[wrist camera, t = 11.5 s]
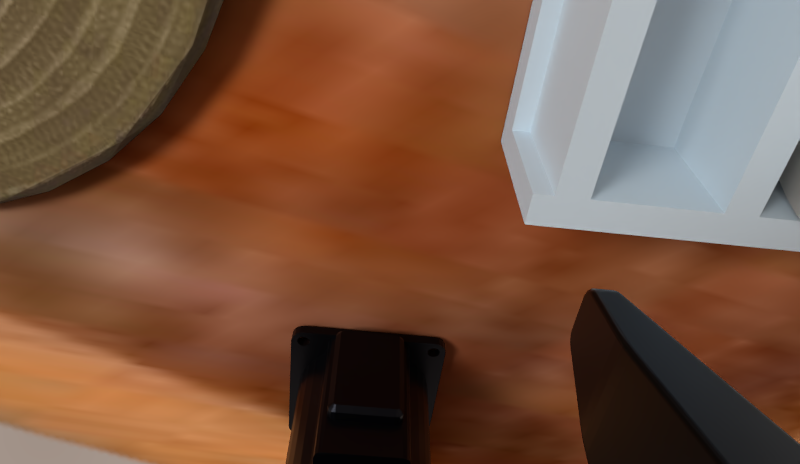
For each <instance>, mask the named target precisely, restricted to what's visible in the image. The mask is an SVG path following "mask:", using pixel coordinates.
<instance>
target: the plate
mask: <svg viewBox="0 0 800 464" xmlns="http://www.w3.org/2000/svg"><path fill="white" fill-rule="evenodd" d="M779 181H780V183H781V186H782V188H783V190H784V193H785V195H786V197H787V199H788V201H789V203H790V205H791V206H792V208H793V210H794V212H795V213H796V215H797V216H798V217H799V218H800V140H799V142H798V144H797V145H796V147H795V149H794V151H793V153H792V155H791V157H790V159H789V161H788V163H787V165H786V167H785V169H784V171H783V173H782V174H781V176H780V178H779Z"/></svg>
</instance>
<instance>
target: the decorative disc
mask: <svg viewBox="0 0 800 464" xmlns="http://www.w3.org/2000/svg"><path fill="white" fill-rule="evenodd" d="M222 3H223V0H0V203H4V202H8V201H12V200H16V199H20V198H24V197H28V196H32V195H36V194H40V193H44V192H48V191H51V190H53V189H55V188H56V187H58V186H60V185H62V184H64V183H66V182H68V181H70V180H72V179H74V178H76V177H78V176H80V175H82V174H84V173H86V172H88V171H89V170H91V169H93V168H95V167H97V166H99V165H101V164H103V163H105V162H107V161H109V160H110V159H111V158H112V157H113V156H115V155H116V154H117V153H118V152H119V151H120V150H121V149H122V148H124V147H125V146H126V145H127V144H128V143H129V142H130V141H132V140H133V139H134V138H135V137H136V136H137V135H138V134H139V133H141V132H142V131H143V130H144V129H145V128H146V127H147V126H148V125H150V124H151V123H152V122H153V121H154V120H155V119H156V118H157V117H159V116H160V115H161V114H162V112H163V111H164V109H165V108H166V106H167V105H168V103H169V102H170V101H171V99H172V98H173V96H174V95H175V93H176V92H177V90H178V89H179V87H180V86H181V84H182V83H183V81H184V80H185V78H186V77H187V75H188V74H189V72H190V71H191V69H192V68H193V66H194V65H195V63H196V62H197V60H198V59H199V57H200V56H201V55H202V53H203V52H204V50H205V48H206V45H207V43H208V40H209V37H210V35H211V32H212V29H213V27H214V24H215V21H216V19H217V16H218V13H219V11H220V8H221V5H222Z"/></svg>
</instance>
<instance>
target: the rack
mask: <svg viewBox="0 0 800 464" xmlns="http://www.w3.org/2000/svg"><path fill="white" fill-rule="evenodd" d="M799 140H800V0H533V2H532V7H531V11H530V15H529V20H528V24H527V29H526V33H525V38H524V42H523V46H522V51H521V55H520V60H519V64H518V68H517V73H516V77H515V82H514V86H513V90H512V95H511V99H510V104H509V108H508V112H507V117H506V121H505V126H504V130H503V134H502V139H501V143H502V147H503V150H504V154H505V157H506V161H507V164H508V168H509V171H510V175H511V178H512V182H513V185H514V189H515V192H516V196H517V199H518V203H519V206H520V210H521V213H522V217H523V220H524V223H525V224H527V225H537V226H547V227H557V228H567V229H577V230H587V231H597V232H607V233H617V234H627V235H637V236H647V237H657V238H667V239H677V240H687V241H697V242H707V243H717V244H727V245H737V246H747V247H757V248H767V249H777V250H787V251H797V252H800V218H799V217H798V216H797V215H796V213H795V212H794V210H793V208H792V206H791V205H790V203H789V201H788V199H787V197H786V195H785V193H784V190H783V188H782V186H781V183H780V181H779V178H780V176H781V174H782V173H783V171H784V169H785V167H786V165H787V163H788V161H789V159H790V157H791V155H792V153H793V151H794V149H795V147H796V145H797V144H798V142H799Z"/></svg>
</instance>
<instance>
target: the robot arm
mask: <svg viewBox="0 0 800 464" xmlns="http://www.w3.org/2000/svg"><path fill="white" fill-rule="evenodd" d="M300 337H306V338H308V339H302V338H300ZM570 345H571V354H572V362H573V370H574V377H575V385H576V393H577V401H578V409H579V417H580V425H581V431H582V438H583V443H584V447H585V452H586V456H587V460H588V464H800V444H799V443H798V442H797V441H795V440H794V439H793V438H792V437H791V436H789V435H788V434H787V433H786V432H785V431H783V430H782V429H781V428H780V427H779V426H777V425H776V424H775V423H774V422H773V421H772V420H770V419H769V418H768V417H767V416H766V415H764V414H763V413H762V412H761V411H760V410H758V409H757V408H756V407H755V406H754V405H752V404H751V403H750V402H749V401H748V400H747V399H745V398H744V397H743V396H742V395H741V394H739V393H738V392H737V391H736V390H735V389H733V388H732V387H731V386H730V385H729V384H727V383H726V382H725V381H724V380H723V379H722V378H720V377H719V376H718V375H717V374H716V373H714V372H713V371H712V370H711V369H710V368H708V367H707V366H706V365H705V364H704V363H703V362H701V361H700V360H699V359H698V358H697V357H695V356H694V355H693V354H692V353H691V352H689V351H688V350H687V349H686V348H685V347H683V346H682V345H681V344H680V343H679V342H678V341H676V340H675V339H674V338H673V337H672V336H670V335H669V334H668V333H667V332H666V331H664V330H663V329H662V328H661V327H660V326H658V325H657V324H656V323H655V322H654V321H653V320H651V319H650V318H649V317H648V316H647V315H645V314H644V313H643V312H642V311H641V310H639V309H638V308H637V307H636V306H635V305H633V304H632V303H631V302H630V301H629V300H628V299H626V298H625V297H624V296H623V295H622V294H620V293H619V292H617V291H614V290H603V289H590V290H588V291H587V293H586V294H585V296H584V298H583V301H582V303H581V306H580V309H579V312H578V314H577V317H576V320H575V323H574V326H573V328H572V332H571V339H570ZM432 348H436V350H430V349H432ZM444 357H445V343H444V342H443V341H442V340H441V339H439V338H435V337H425V336H413V335H402V334H391V333H379V332H368V331H356V330H345V329H334V328H322V327H311V326H300V327H297V328H296V329H295V330H294V331H293V335H292V340H291V371H290V406H289V428H290V430H291V436H290V442H289V447H288V453H287V459H286V464H431V459H430V436H429V426H430V422H431V417H432V412H433V408H434V403H435V399H436V394H437V389H438V385H439V380H440V376H441V371H442V366H443V362H444Z"/></svg>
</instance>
